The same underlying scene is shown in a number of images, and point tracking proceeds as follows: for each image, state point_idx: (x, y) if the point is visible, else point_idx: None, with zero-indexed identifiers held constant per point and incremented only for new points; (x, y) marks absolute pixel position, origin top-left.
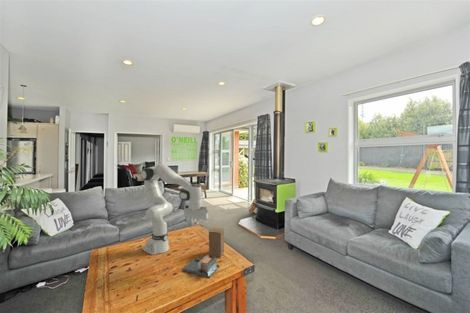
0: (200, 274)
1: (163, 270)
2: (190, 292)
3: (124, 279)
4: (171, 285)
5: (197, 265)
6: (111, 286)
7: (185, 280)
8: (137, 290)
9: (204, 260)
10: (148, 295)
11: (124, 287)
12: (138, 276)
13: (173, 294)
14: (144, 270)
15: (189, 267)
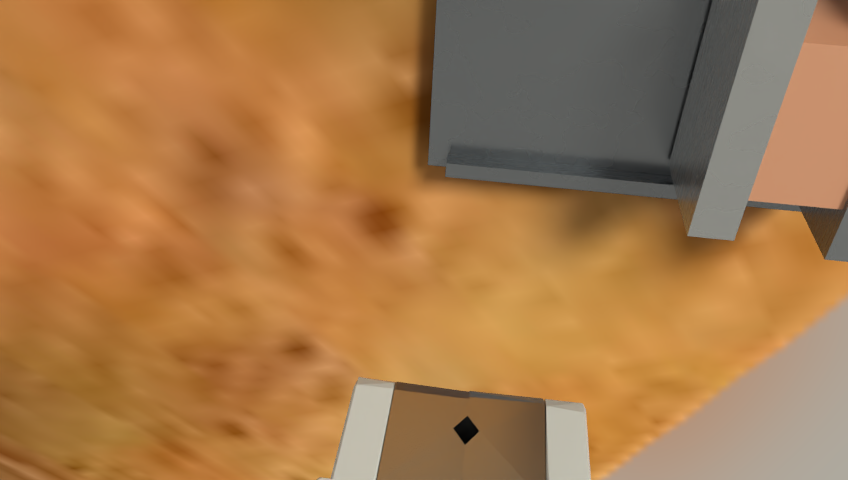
0: None
1: (211, 206)
2: (702, 401)
3: (21, 385)
4: (474, 367)
5: (595, 34)
6: (33, 453)
7: (570, 287)
8: (251, 452)
9: (772, 147)
10: None
11: (129, 446)
12: (81, 335)
13: None
14: (29, 254)
15: (501, 113)
